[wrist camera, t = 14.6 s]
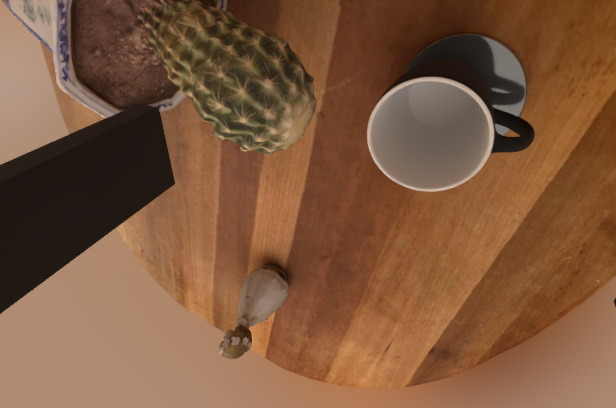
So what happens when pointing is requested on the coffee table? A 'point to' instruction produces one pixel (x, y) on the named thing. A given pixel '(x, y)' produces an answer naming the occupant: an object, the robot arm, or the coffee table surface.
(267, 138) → the potted plant
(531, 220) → the coffee table surface
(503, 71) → the coaster
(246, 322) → the figurine
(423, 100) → the mug
